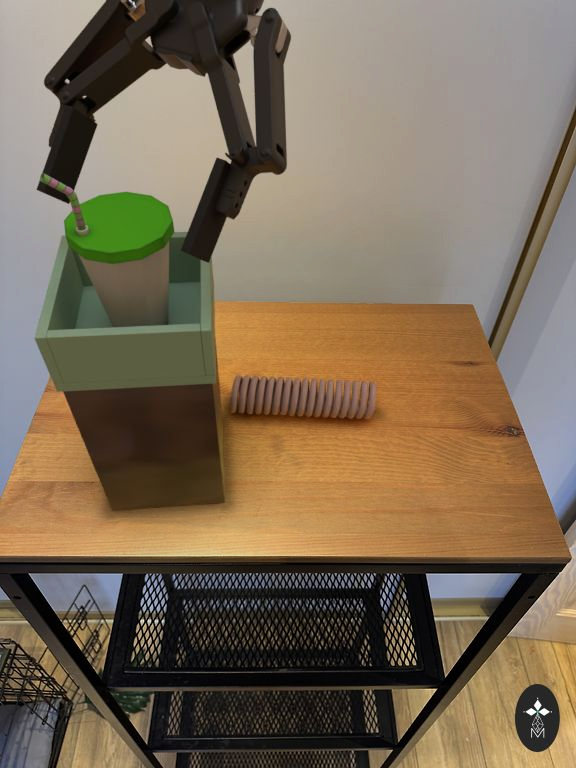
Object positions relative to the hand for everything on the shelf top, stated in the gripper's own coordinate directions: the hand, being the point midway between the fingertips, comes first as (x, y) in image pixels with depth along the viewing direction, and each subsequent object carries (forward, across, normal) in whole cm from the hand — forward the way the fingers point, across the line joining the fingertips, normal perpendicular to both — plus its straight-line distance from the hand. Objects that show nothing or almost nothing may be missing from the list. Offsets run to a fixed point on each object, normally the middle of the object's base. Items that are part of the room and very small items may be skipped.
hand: (120, 226), depth 42 cm
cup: (+7, 0, -7) cm, 10 cm away
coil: (+12, -9, -32) cm, 36 cm away
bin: (+8, 0, -8) cm, 11 cm away
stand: (+22, 0, -22) cm, 31 cm away
